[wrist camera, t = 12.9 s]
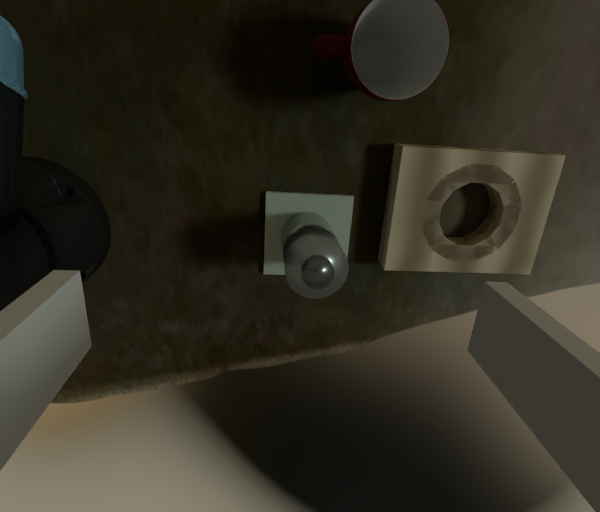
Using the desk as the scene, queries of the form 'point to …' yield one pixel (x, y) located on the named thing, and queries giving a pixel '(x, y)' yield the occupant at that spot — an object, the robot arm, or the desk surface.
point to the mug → (391, 48)
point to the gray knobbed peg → (312, 256)
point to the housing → (492, 231)
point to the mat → (291, 203)
